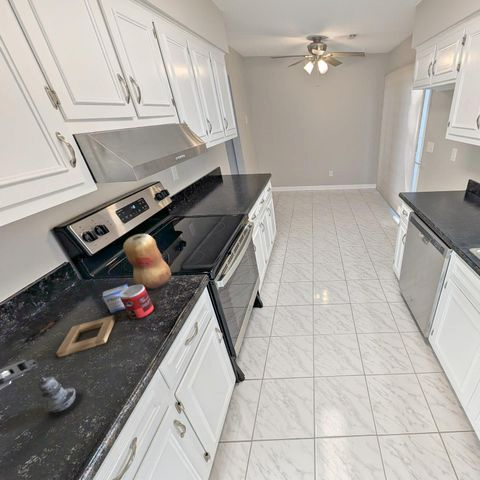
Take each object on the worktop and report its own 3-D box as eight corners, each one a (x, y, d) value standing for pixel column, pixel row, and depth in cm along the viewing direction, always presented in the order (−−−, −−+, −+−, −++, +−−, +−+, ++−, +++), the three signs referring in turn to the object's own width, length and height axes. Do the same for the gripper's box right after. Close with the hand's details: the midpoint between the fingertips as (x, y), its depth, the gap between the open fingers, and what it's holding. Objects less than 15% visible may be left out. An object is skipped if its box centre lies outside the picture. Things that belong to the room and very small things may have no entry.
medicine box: (111, 314, 99) (101, 297, 95) (112, 308, 102) (102, 291, 98) (135, 305, 103) (126, 288, 99) (134, 300, 106) (126, 283, 102)
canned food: (129, 313, 99) (117, 290, 94) (152, 303, 104) (142, 281, 99) (131, 323, 94) (119, 300, 89) (156, 313, 98) (145, 290, 93)
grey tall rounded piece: (49, 411, 66) (22, 381, 61) (77, 392, 71) (54, 363, 65) (55, 424, 63) (28, 394, 58) (84, 403, 68) (61, 374, 62)
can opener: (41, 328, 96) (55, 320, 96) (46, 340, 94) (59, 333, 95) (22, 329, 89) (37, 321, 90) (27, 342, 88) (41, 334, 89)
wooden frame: (59, 358, 81) (55, 353, 80) (75, 331, 92) (72, 326, 91) (106, 344, 86) (103, 339, 84) (116, 320, 96) (113, 315, 95)
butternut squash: (138, 299, 106) (113, 247, 95) (141, 283, 117) (118, 235, 106) (174, 288, 112) (154, 238, 101) (174, 274, 123) (156, 227, 112)
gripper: (-47, 371, 41) (38, 341, 57) (-158, 433, 38) (-34, 383, 53) (-20, 409, 41) (57, 369, 57) (-128, 474, 38) (-14, 412, 54)
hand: (13, 376), depth 55 cm, fingers open, 8 cm apart
